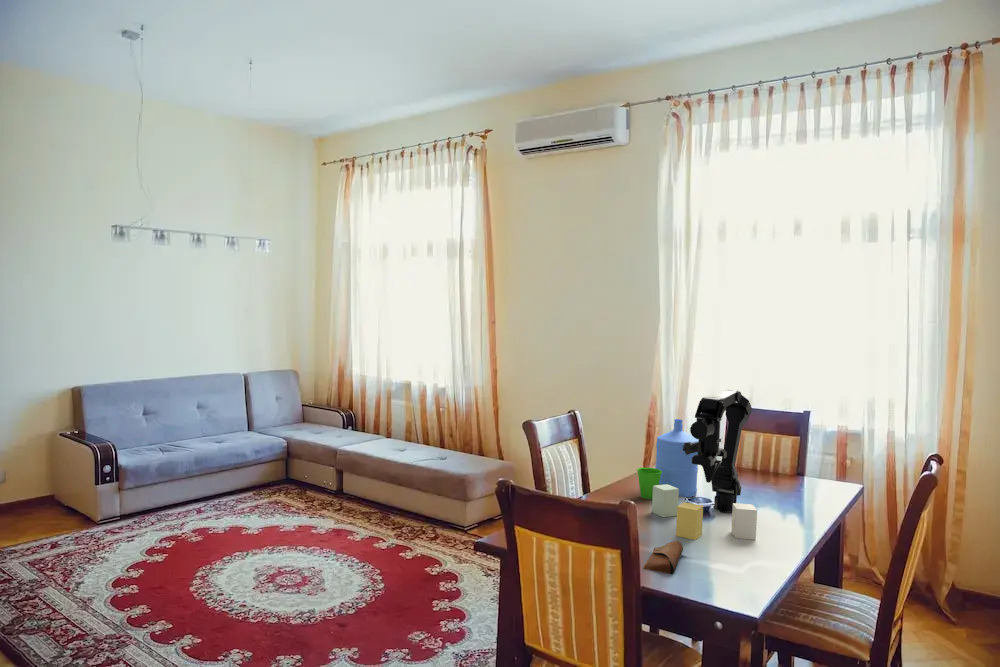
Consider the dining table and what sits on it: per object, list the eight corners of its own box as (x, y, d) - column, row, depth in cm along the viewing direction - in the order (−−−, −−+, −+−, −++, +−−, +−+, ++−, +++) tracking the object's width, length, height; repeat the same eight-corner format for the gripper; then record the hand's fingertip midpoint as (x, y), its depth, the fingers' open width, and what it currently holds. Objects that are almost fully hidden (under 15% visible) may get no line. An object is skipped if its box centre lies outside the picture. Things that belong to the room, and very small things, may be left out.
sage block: (666, 510, 234) (667, 484, 234) (677, 515, 229) (678, 488, 228) (651, 512, 232) (653, 485, 231) (663, 517, 226) (664, 490, 226)
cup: (661, 504, 245) (662, 474, 245) (635, 502, 247) (636, 472, 246) (660, 498, 254) (661, 468, 253) (635, 495, 256) (636, 466, 255)
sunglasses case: (653, 547, 200) (665, 530, 199) (673, 563, 198) (686, 545, 197) (642, 569, 184) (655, 550, 182) (664, 586, 182) (678, 567, 180)
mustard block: (682, 530, 213) (683, 502, 213) (701, 534, 210) (703, 505, 209) (675, 535, 208) (677, 506, 208) (695, 540, 205) (696, 510, 204)
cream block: (731, 531, 214) (732, 503, 213) (751, 533, 213) (752, 504, 212) (735, 538, 208) (736, 508, 207) (755, 539, 207) (757, 510, 207)
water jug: (689, 501, 251) (693, 425, 250) (648, 493, 259) (651, 420, 258) (701, 492, 264) (704, 419, 263) (662, 485, 273) (665, 415, 271)
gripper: (695, 428, 239) (693, 473, 239) (677, 436, 223) (674, 483, 224) (728, 432, 233) (725, 478, 233) (711, 440, 217) (709, 489, 218)
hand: (708, 482), depth 227 cm, fingers closed
